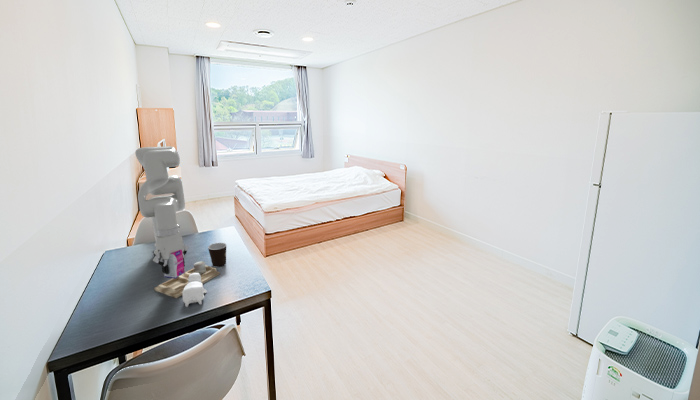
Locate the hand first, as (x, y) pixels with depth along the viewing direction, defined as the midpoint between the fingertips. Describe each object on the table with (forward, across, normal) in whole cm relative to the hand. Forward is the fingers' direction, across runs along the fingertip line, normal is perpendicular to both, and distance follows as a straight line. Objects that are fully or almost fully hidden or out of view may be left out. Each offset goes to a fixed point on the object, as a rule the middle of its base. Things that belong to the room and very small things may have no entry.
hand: (174, 269), depth 138 cm
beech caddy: (+9, -6, 0) cm, 11 cm away
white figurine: (+10, +1, +13) cm, 16 cm away
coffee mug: (+9, -27, -2) cm, 28 cm away
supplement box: (+3, 0, 0) cm, 3 cm away
